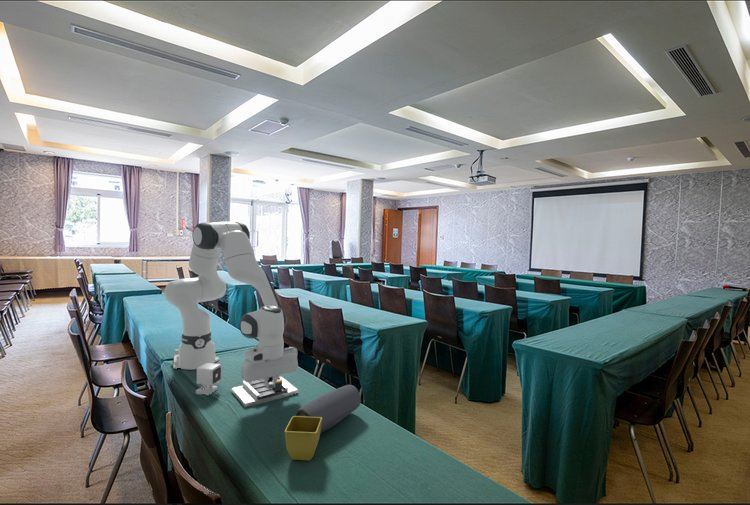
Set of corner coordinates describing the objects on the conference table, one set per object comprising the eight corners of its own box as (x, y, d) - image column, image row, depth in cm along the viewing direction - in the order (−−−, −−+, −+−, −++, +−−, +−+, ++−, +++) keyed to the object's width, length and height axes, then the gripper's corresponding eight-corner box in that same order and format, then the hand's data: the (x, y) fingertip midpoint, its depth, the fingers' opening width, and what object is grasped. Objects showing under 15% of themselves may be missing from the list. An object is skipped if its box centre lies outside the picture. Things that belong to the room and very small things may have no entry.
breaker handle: (273, 389, 140) (274, 380, 140) (280, 388, 141) (280, 378, 141) (275, 391, 139) (275, 381, 138) (282, 389, 140) (282, 380, 140)
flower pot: (291, 445, 110) (292, 415, 109) (321, 446, 110) (322, 416, 109) (283, 464, 101) (284, 431, 100) (316, 465, 101) (316, 433, 100)
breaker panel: (231, 391, 143) (231, 377, 143) (281, 380, 155) (281, 366, 155) (245, 407, 131) (245, 391, 131) (298, 393, 144) (298, 378, 143)
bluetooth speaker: (340, 407, 134) (341, 379, 133) (361, 415, 128) (362, 387, 128) (291, 435, 115) (292, 403, 115) (314, 446, 110) (314, 412, 109)
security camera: (211, 396, 139) (211, 369, 138) (194, 394, 140) (194, 367, 140) (221, 389, 145) (221, 363, 145) (205, 387, 147) (205, 361, 146)
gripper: (293, 343, 146) (293, 378, 147) (240, 353, 134) (239, 391, 134) (301, 348, 141) (300, 384, 142) (246, 358, 129) (245, 398, 129)
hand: (270, 387), depth 138 cm, fingers closed
